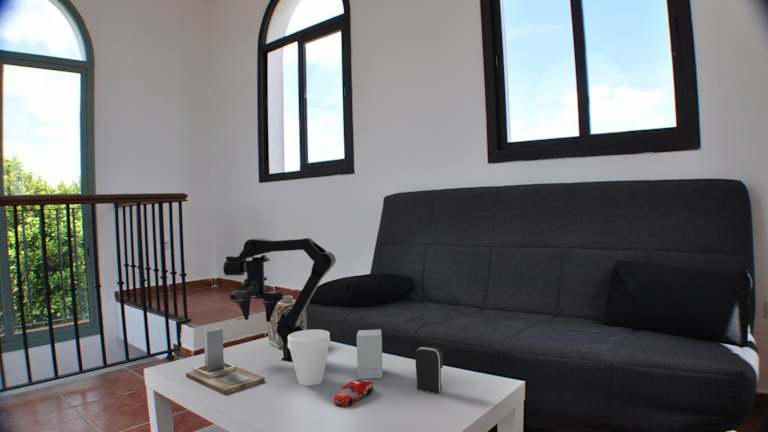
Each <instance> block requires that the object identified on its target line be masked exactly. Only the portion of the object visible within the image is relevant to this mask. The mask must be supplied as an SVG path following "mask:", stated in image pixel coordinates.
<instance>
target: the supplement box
mask: <svg viewBox="0 0 768 432" xmlns="http://www.w3.org/2000/svg"><path fill="white" fill-rule="evenodd" d="M382 335H383V334H382V329H362V330H361V329H359V330H358V331H357V333H356V356H357V357H356V359H357V380H367V379H383V370H384V369H383V340H382V339H383V337H382Z"/></svg>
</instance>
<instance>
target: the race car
mask: <svg viewBox="0 0 768 432" xmlns="http://www.w3.org/2000/svg"><path fill="white" fill-rule="evenodd" d="M373 392H374V384H373V382H372V381H371V380H369V379H368V380H367V379H354V380H351V381H349V382H348V383H346V384H345V385H344V386H341V389H340V390H339V391H338V392H337V393H335V394H334V395H333V397H332V402H333V404H334V405H336V406H340V407H341V406H342V407H343V406H344V407H345V406H348V407H350V406H352V405H353V404H355V403H356V402H359V401H360V400H361V399H363V398H365V397H367V396H370V395H371V394H372V393H373Z"/></svg>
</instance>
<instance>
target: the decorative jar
mask: <svg viewBox="0 0 768 432" xmlns="http://www.w3.org/2000/svg"><path fill="white" fill-rule="evenodd" d="M296 300H297V299H293V296H292V295H283V299H282V300H280V302H278V303H277V305H276V307H275V309H274V311H273V313H272V316H271V318H270V321H269V322H267V335H268V343H269V344H270V345H272V346H273V347H275V348H276V349H278V350H283V344H284V343H283V341H282V339H281V337H280V336H279V335H278V333H277V330H276V328H277V325H278V324H276V323H277V322H278V321H279V320H280V317H281V315H282V313H284V312H285V311H287V310H289V311H290V310H291V309H292V307H293V305H294V303H295V302H296ZM306 308H307V307H306ZM306 308H305V310H304V311H303V313H302V317H301V322H300V324H299V326H300V327H301V328H302V329H304V330H308V324H307V309H306Z"/></svg>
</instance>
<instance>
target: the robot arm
mask: <svg viewBox="0 0 768 432" xmlns="http://www.w3.org/2000/svg"><path fill="white" fill-rule="evenodd" d="M301 250H302V251H304V252H305V253H306V254H307V256H308V257H309V258H310V259H311V260H312V261H313V263H312V266H311V271H310V275H309V277H308V278H307V281H306V282H305V284H304V286H303V288H302V289H301V291H300V292H299V294H298V296H297V298H296V299H295V300H296V302H295V303H294V305H293V307H292V309H291V310H290V311H289V310H287V311H285V312H284V313H282V315H281V317H280V320H279V321H278V322H277V323H276V324H278V325H277V328H276V330H277V333H278V335H279V336H280V337H281V339H282V341H283V343H284V344H283V349H282V356H283V357H281V361H288V362H293V360H292V356H291V353H290V349H289V348H288V335H289V334H291V333H294V332H297V331H302V330H304V329H302V328H301V327H300V326H299V324H300V322H301V317H302V313H303V311H304V310H305V308H307V307H308V304H309V302H310V301H311V299H312V297H313V295H314V294H315V292H316V290H317V289H318V287H319V285H320V283H321V281H322V279H323V278H324V277H325V276H326V275H328V273H329V272H330V270H331V269H332V268H333V267H334V266H335V264H336V261H337V259H336V256H335V255H334V254H335V253H333V252H331V251H327V250H326V249H325V248H323V247H322V246H321V245H319V244H318V243H316V241H314V240H313V239H312V238H311V237H306V238H297V239H282V240H271V239H265V238H250V239H247V240H246V241H245V242H244V244H243V248H242V250H241V252H240V253H239V255H238V256H236V255H235V256H233V255H228V256H225V258H226V260H225V261H224V264H223V274H224V275H225V276H226V277H230V276H231V277H232V276H233V277H236V276H238V277H239V276H240V277H241V276H244V275H245V274H246V278H245V279H244V280H243V284H242V285H240V286H239V287H238V288H236V289H235V290H233V291H231V292H230V294H229V296H230V301H232V302H233V303H235V304H237V305H238V306H239V308H240V310H241V313H242V315H243V317H244V320H245V321H249V318H250V309H251V299H262V300H263V301H264V302H262V304H263V306H264V308H265V321H266V323H268V322H269V321H270V318H271V316H272V313H273V311H274V309H275V307H276V305H277V303H278V302H280V300H282V299H283V296H284V294H283V292H282V291H280V290H271V291H268V289H267V288H265V287H266V286H265V284H266V283H265V281H267V280H268V278H267V276H265V264H264V263H267V262H270V261H271V260H270V258H268V257H267V255H266V254H269V253H271V252H285V251H288V252H289V251H301ZM259 255H261V256H259ZM247 259H248V260H247ZM249 259H250V260H249Z"/></svg>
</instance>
